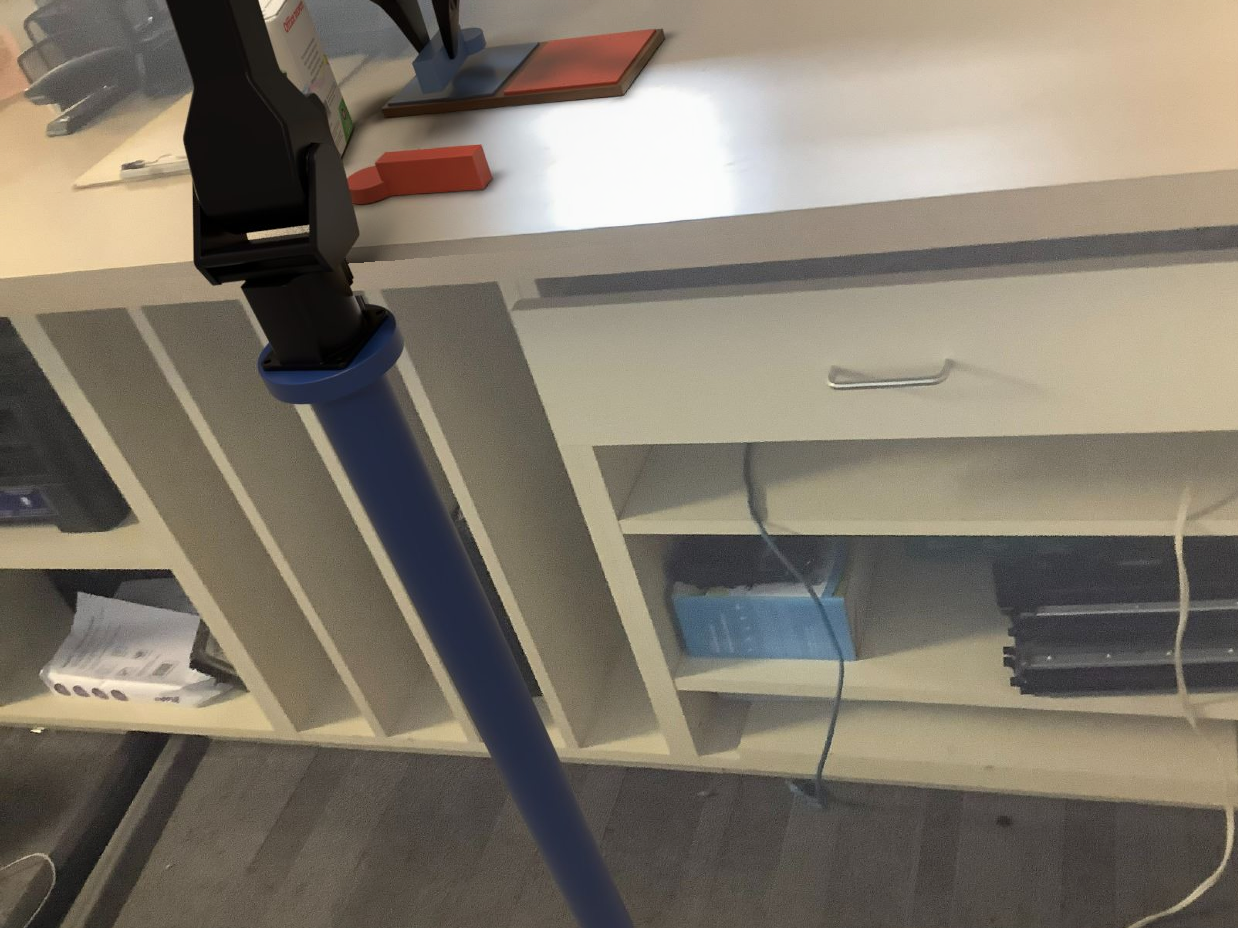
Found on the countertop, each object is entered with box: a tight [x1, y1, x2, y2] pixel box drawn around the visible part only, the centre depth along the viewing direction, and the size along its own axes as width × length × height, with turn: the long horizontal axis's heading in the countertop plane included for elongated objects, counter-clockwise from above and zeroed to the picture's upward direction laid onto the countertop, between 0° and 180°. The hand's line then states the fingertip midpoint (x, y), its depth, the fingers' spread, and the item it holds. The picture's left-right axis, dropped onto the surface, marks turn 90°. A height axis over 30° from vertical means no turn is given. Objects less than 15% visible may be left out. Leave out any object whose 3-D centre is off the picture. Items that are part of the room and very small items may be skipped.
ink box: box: [259, 0, 355, 157], centre depth 90 cm, size 8×5×12 cm, turn 4°
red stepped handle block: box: [347, 143, 493, 205], centre depth 83 cm, size 12×4×3 cm, turn 75°
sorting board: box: [380, 28, 665, 118], centre depth 97 cm, size 12×22×1 cm, turn 75°
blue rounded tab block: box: [411, 24, 487, 94], centre depth 96 cm, size 12×4×3 cm, turn 173°
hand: (441, 59), depth 95 cm, fingers closed on blue rounded tab block, 2 cm apart
